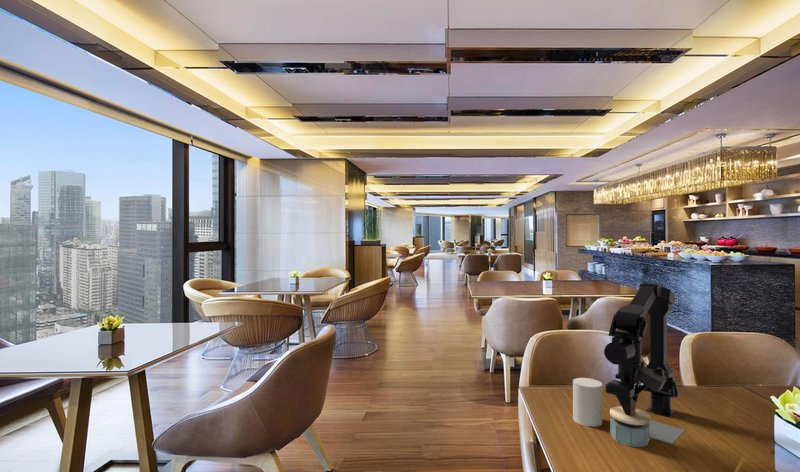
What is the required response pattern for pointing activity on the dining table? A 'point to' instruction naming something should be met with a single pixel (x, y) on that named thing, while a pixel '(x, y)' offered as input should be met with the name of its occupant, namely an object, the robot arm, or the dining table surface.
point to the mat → (664, 432)
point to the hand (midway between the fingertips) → (629, 413)
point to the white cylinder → (587, 402)
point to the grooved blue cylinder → (630, 433)
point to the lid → (635, 415)
